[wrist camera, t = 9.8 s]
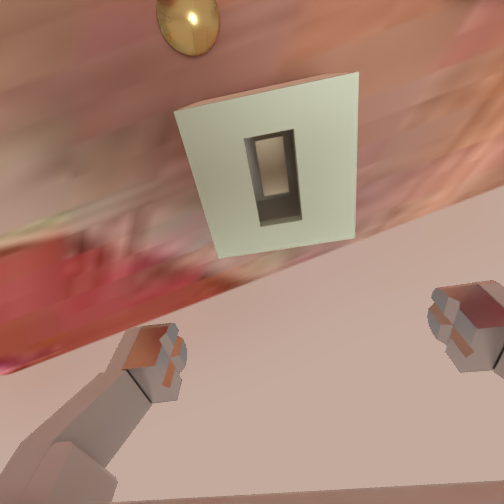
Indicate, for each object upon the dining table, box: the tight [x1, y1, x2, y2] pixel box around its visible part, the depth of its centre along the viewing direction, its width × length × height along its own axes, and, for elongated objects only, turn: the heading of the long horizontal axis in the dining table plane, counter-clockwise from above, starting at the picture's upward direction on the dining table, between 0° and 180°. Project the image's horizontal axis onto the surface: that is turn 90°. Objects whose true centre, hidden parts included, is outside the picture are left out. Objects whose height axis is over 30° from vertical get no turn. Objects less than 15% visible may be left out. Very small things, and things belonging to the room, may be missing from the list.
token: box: [255, 131, 289, 196], centre depth 26 cm, size 5×2×5 cm, turn 11°
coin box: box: [174, 72, 359, 259], centre depth 25 cm, size 12×12×10 cm
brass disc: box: [156, 0, 220, 56], centre depth 23 cm, size 5×5×2 cm
